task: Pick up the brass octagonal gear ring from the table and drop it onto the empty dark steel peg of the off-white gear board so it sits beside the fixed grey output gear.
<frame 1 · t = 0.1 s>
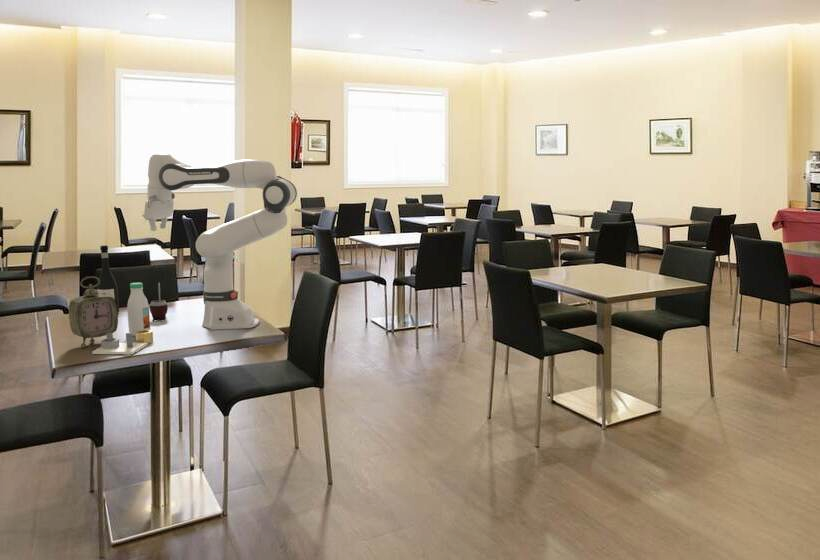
hand: (158, 229, 279), 39 cm above the table, tool pointing down, fingers open, 8 cm apart
tabletop clock: (95, 344, 256), on the table
wine bottle: (109, 314, 307), on the table
mate gourd: (159, 319, 295), on the table
gear board: (120, 350, 246), on the table
milk bottle: (140, 335, 269), on the table
brass gear: (144, 342, 257), on the table
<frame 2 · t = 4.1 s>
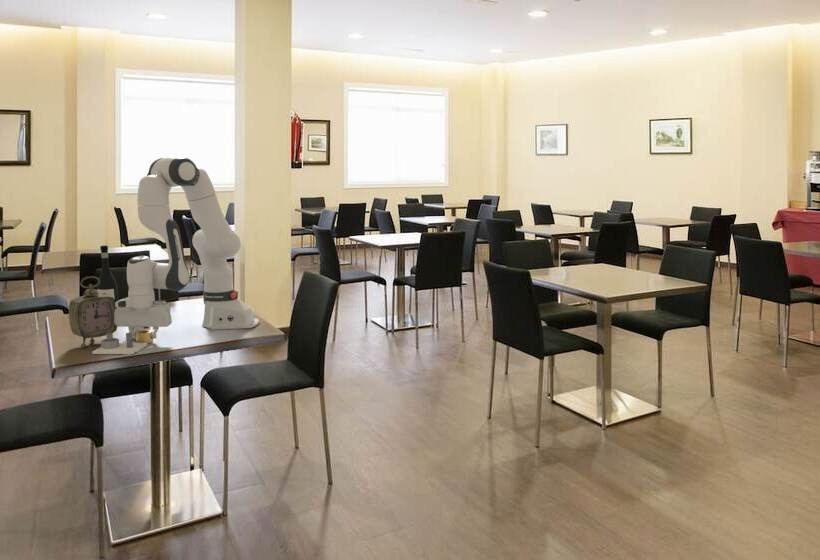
hand: (144, 338, 257), 2 cm above the table, tool pointing down, fingers closed on brass gear, 5 cm apart
brass gear: (144, 342, 257), on the table, touching gripper
everything else where it was.
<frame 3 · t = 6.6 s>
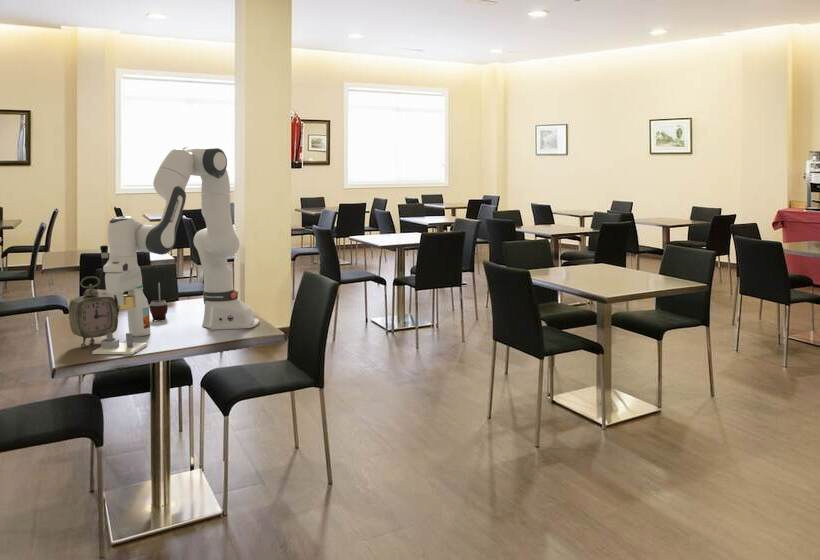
hand: (126, 303, 243), 17 cm above the table, tool pointing down, fingers closed on brass gear, 5 cm apart
brass gear: (126, 307, 244), point 15 cm above the table, touching gripper
everything else where it was.
when the fingers open (5 cm above the table, at t = 9.2 s): brass gear drops 2 cm, resting on gear board.
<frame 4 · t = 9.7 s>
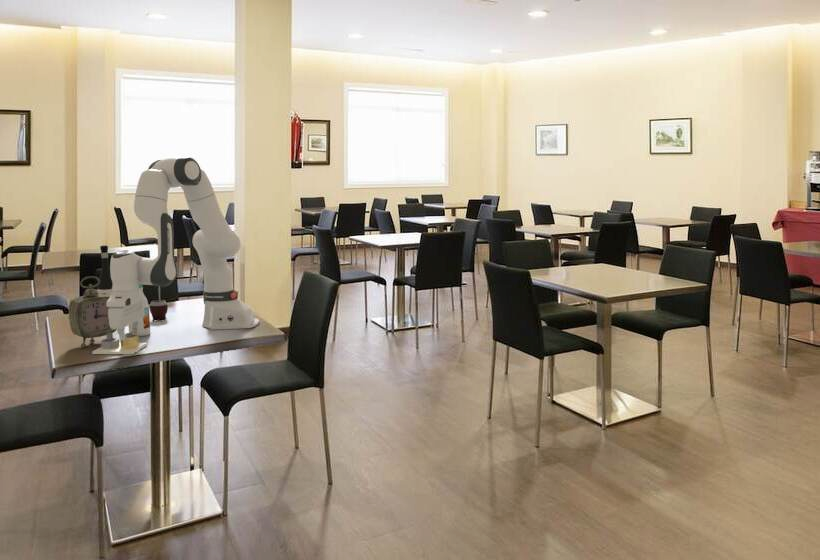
hand: (129, 336, 245), 5 cm above the table, tool pointing down, fingers open, 8 cm apart
brass gear: (130, 347, 246), point 1 cm above the table, touching gear board
everything else where it was.
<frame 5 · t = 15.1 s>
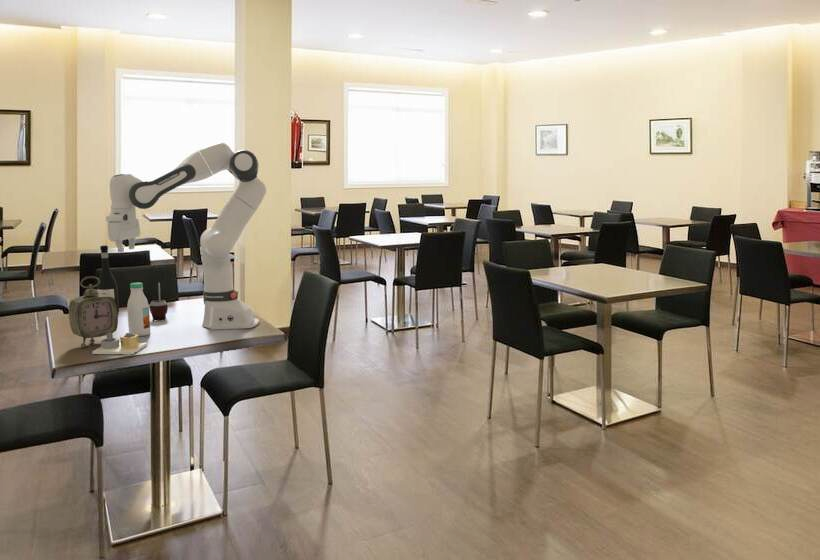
hand: (126, 250, 275), 31 cm above the table, tool pointing down, fingers open, 8 cm apart
nothing on the table moved.
at the end: brass gear 0.0 cm from the target spot on the gear board, point 1.2 cm above the gear board's base; the gripper is holding nothing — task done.
